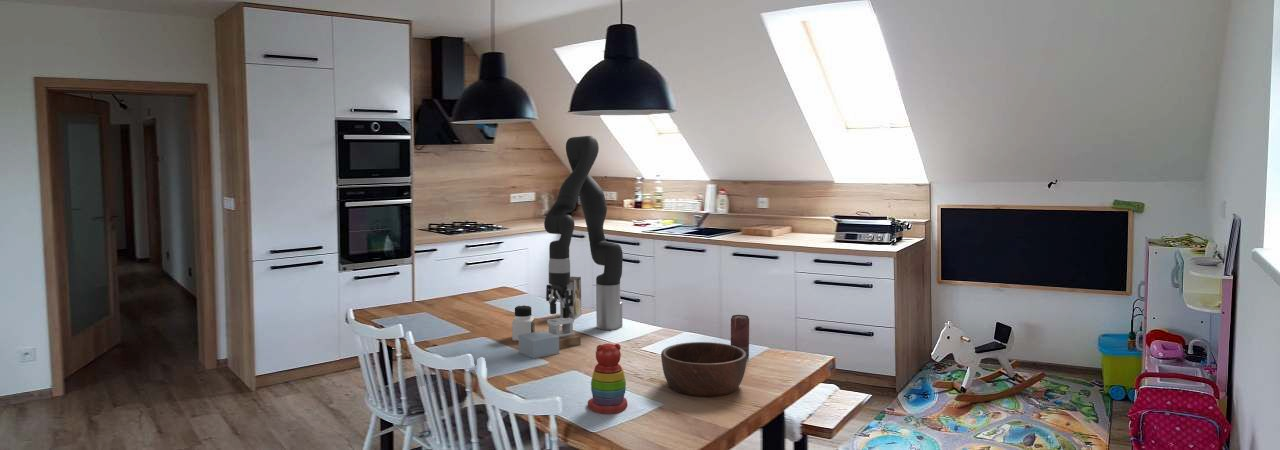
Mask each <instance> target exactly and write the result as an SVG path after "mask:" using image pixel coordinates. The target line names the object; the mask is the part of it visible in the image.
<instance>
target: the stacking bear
mask: <svg viewBox="0 0 1280 450" xmlns="http://www.w3.org/2000/svg"><path fill="white" fill-rule="evenodd" d="M621 356H622V353H621V345H620V344H619V343H615V344H614V343H603V344H597V346H596V350H595V359H596V362H597V364H596V365H595V366H594V369H593V372H592V377H591V381H590V389H591V395H592V397H591V398H590V399H589V400H588V401H587V408H589V410H591V411H592V412H595V413H598V414H602V413H603V414H602V415H612V414H618V413H621V412H623V411H625V410H626V409H627V407H628V400H627V398H626V397H625V393H626V389H627V387H626V385H627V383H626V382H627V381H626V378H625V377H626V376H625V372H624V370H623V367H622V365H621V364H619V363H620V360H621V358H622V357H621Z"/></svg>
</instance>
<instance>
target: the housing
mask: <svg viewBox="0 0 1280 450" xmlns="http://www.w3.org/2000/svg"><path fill="white" fill-rule="evenodd" d="M546 322H547V323H546V324H548V332H549V333H551V334H554V335H557V336H559V338H564V337H570V336H574V335H575V332H574V330H573V329H574V328H573V327H574V326H573V323H575V319H572V318H563V317H561V318H560V317H556V318H555V317H554V318H550V319H546ZM560 325H561V330H560Z"/></svg>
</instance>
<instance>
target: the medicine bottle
mask: <svg viewBox="0 0 1280 450" xmlns="http://www.w3.org/2000/svg"><path fill="white" fill-rule="evenodd" d="M535 328H536V327H535V317H533V316H532V307H531V306H530V305H526V304H525V305H523V304H521V305H516V306H515V307H514V319H513V320H512V321H511V338H512V339H511V340H512V341H513V342H514V341H515V342H516V341H518V342H519V339H518V335H522V334H528V333H534V332H536V331H535Z"/></svg>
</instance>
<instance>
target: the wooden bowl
mask: <svg viewBox="0 0 1280 450" xmlns="http://www.w3.org/2000/svg"><path fill="white" fill-rule="evenodd" d="M660 357H661V365H662V372H663V375H664V378H665V381H666V382H667V384H668V385H669V386H668V387H670V388H671V389H673V391H676V392H677V393H680V394H684V395H688V396H694V397H717V396H719V397H720V396H724V395H728V394H730V393H733V392H735V391H736V390H737V389H738V388H739V386H741V383H742V381H743V378H744V375H745V372H746V369H747V368H746V367H747V360H748V358H747V354H746V352H745V351H744V350H742V349H740V348H738V347H736V346H732V345H731V344H726V343H720V342H712V341H711V342H709V341H707V342H706V341H695V342H693V341H692V342H684V343H676V344H673V345H672V344H671V345H670V346H667V347H665V348H664V349H662V351H661V354H660Z"/></svg>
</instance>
